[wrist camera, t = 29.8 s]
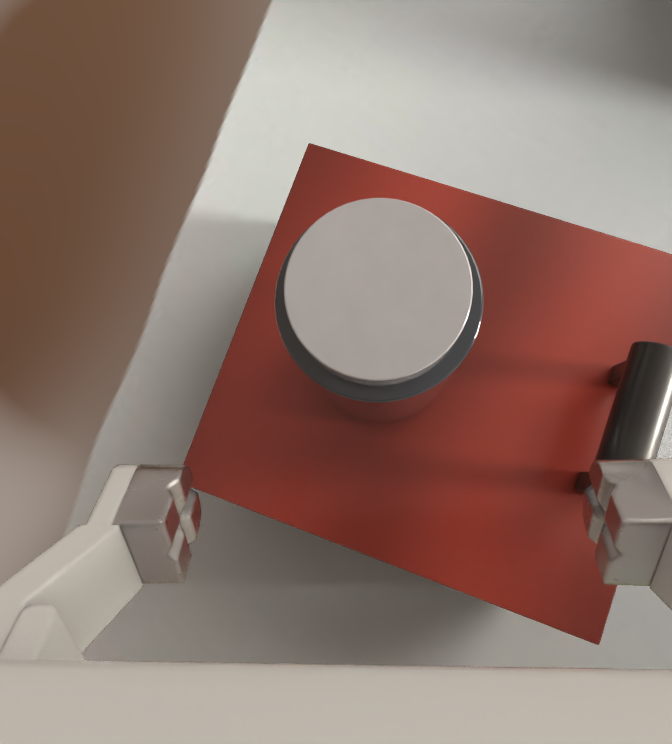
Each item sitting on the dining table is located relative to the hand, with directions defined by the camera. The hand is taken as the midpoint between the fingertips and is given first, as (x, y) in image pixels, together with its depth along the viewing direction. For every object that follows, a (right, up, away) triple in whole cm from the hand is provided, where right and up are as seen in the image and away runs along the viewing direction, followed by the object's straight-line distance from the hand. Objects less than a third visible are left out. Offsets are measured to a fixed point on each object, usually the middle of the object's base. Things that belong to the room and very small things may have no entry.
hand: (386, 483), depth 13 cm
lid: (+3, +2, +11) cm, 12 cm away
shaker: (+1, +3, +11) cm, 11 cm away
